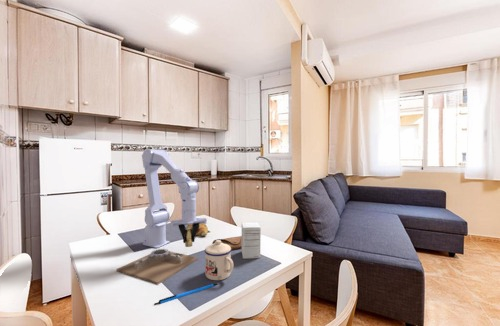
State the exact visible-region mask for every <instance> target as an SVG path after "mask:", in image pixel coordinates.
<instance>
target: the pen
mask: <svg viewBox="0 0 500 326" xmlns="http://www.w3.org/2000/svg"><path fill="white" fill-rule="evenodd" d="M218 284H219V283H217V282H216V283H211V284H209V285H205V286H202V287H199V288H196V289H192V290H190V291H186V292H182V293H180V294H174V295H170V296H167V297H165V298H162V299H159V300H158V302H154V303H153V305H154V306H157V305H161V304H164V303H167V302H170V301H174V300H175V299H176V300H177V299H179V298H180V299H181V298H183V297H186V296H189V295H192V294H194V293H197V292H201V291H203V290H206V289H209V288H213V287H216V286H217V285H218Z"/></svg>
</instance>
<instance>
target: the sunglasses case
mask: <svg viewBox="0 0 500 326" xmlns="http://www.w3.org/2000/svg"><path fill="white" fill-rule="evenodd" d="M216 240H220V241H221V243H224V244H227V245H229V246H230V247H231V252H232V251H236V250H242V247H241V246H242V235H240V236H232V237H226V238H218V239H215V240H213V241H212V243H211V244H214V243H215V241H216Z"/></svg>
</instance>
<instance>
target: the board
mask: <svg viewBox="0 0 500 326" xmlns="http://www.w3.org/2000/svg"><path fill="white" fill-rule="evenodd" d="M168 251H169V253H171V254H173V255H179V256H181V257H182V262H181V263H178V262H174V261H171V260H167V259H164V260H160V261H152V262H150V263H148V264H146V265H144V266H142V267H140V268H138V269H135V263H136V262H138V261H139V260H143V259H145V258H147V257H148V256H151V253H148V254H147V255H145V256H142V257H140V258H138V259H136V260H134V261H132V262H130V263H127V264H125V265H122V266H120V267H119V268H116V272H119V273H122V274H124V275H125V274H126V275H129V276H131V277H135V278H138V279H140V280H141V279H142V280H144V281H147V282H150V283H153V284H157V285H159V284H161V283H162V282H165V280H167V279H169V278H170V277H172V276H174V275H175V274H177V273H179V272H180V271H182V270H183V269H185V268H186V267H189V265H191V264H193V263H194V262H196V261H197V260H199V258H198V257H196V256H192V255H191V256H190V255H187V254H183V253H178V252H174V251H170V250H168Z"/></svg>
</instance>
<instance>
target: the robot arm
mask: <svg viewBox="0 0 500 326" xmlns="http://www.w3.org/2000/svg"><path fill="white" fill-rule="evenodd" d="M141 160H142V165H143V166H142V167H143V168H144V174H145V175H144V176H145V182H146V187H147V194H148V200H149V202H148V203H149V206H148V207H147V208H146V209H145V210H144V223H145V224H146V226H145V227H144V230H143V243H142V245H143V246H147V247H151V248H155V249H159V248H160V247H162V246H165V245H167V244H170V241H169V240H167V238H166V237H167V235H166V233H167V230H166V229H167V227H166V225H167V224H168V222H169V221H170V227H176V226H178V229H179V231H180V234H181V236H182V242H183V244H185V229H186V225H187V226H188V225H190V224H192V229H193V230H192V243H195V240H196V236H197V235H196V233H197V231H198V229H199V224H202V223H204V224H205V225H206V224H208V223H207V219H208V218H206V217H200V218H199V217H197V193H198V192H199V190H200V185H199V183H198V181H197V180H196V179H192V178H190V177H189V175H187V173H186V172H185V170H184V169H182V168H178V167H177V166H176V164H175V162H173V160H172V159H171V158H170V154H169V152H168V151H167V150H166V149H154V148H153V149H152V148H146V149H145V150H144V151H143V153H142V155H141ZM162 166H163V167H164V168H165V169H166V171H168V172H169V173H170V178H171V180H173V181H172V182H174V183H175V184H176V185H177V186H178V192H179V194H180V199H181V219H175V220H170V212H169V210H168V206H167V205H166V204H164V203H163V201H162V200H163V199H162V195H161V193H162V192H161V188H160V180H159V174H158V173H159V172H158V170H159V168H161V167H162Z"/></svg>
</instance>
